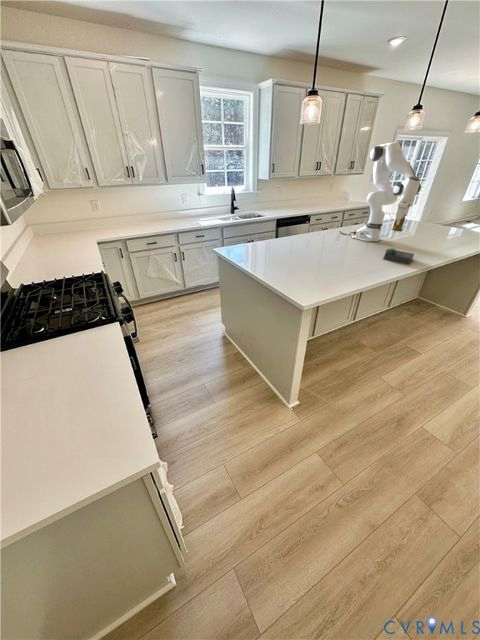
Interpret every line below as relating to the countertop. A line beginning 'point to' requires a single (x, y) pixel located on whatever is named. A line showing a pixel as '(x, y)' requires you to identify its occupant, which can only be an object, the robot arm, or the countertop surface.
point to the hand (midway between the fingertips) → (399, 223)
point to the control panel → (398, 256)
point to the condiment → (398, 227)
